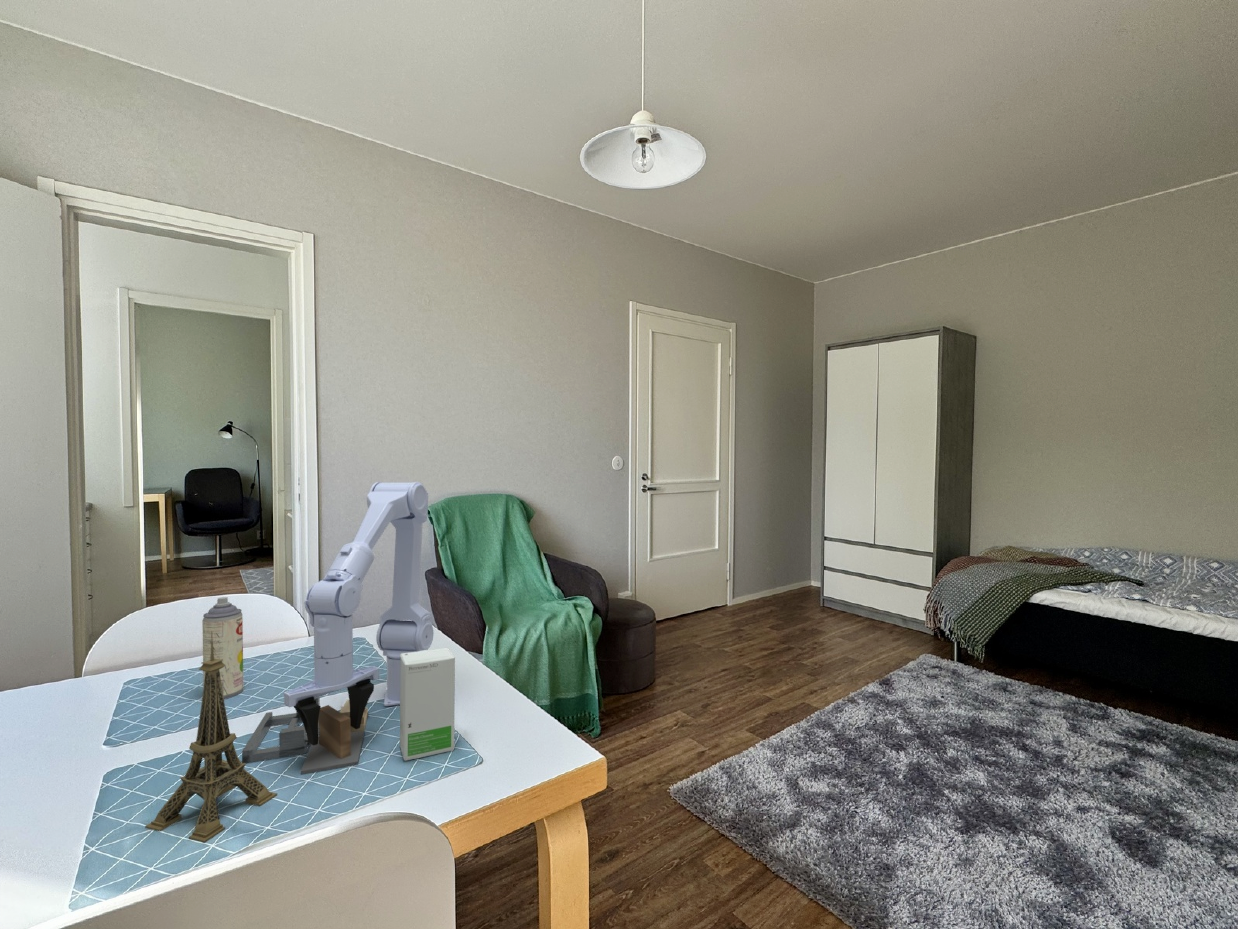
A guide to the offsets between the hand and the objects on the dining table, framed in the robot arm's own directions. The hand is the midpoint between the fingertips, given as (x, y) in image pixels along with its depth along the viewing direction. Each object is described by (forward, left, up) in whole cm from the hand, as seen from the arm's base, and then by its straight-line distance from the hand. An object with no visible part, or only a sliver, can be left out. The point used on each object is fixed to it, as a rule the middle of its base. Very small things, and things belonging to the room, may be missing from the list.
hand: (334, 734), depth 93 cm
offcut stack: (-2, -10, -3) cm, 11 cm away
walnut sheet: (0, 0, -2) cm, 2 cm away
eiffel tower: (+14, +12, -3) cm, 18 cm away
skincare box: (-14, +4, -3) cm, 15 cm away
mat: (0, 0, -3) cm, 3 cm away
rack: (+9, -9, -3) cm, 13 cm away
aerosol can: (+26, -34, -3) cm, 43 cm away
